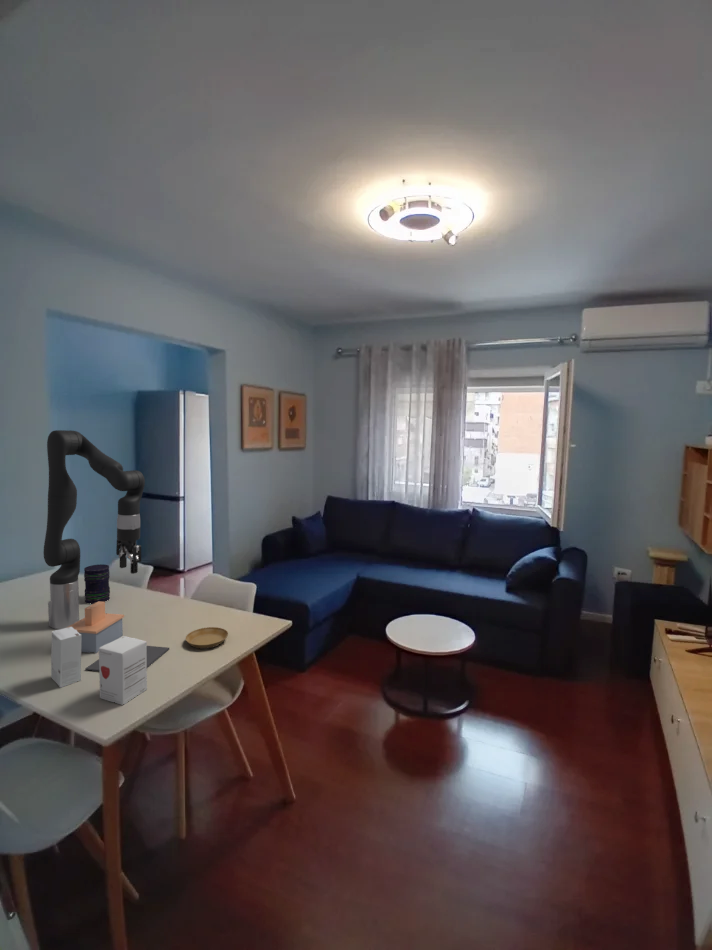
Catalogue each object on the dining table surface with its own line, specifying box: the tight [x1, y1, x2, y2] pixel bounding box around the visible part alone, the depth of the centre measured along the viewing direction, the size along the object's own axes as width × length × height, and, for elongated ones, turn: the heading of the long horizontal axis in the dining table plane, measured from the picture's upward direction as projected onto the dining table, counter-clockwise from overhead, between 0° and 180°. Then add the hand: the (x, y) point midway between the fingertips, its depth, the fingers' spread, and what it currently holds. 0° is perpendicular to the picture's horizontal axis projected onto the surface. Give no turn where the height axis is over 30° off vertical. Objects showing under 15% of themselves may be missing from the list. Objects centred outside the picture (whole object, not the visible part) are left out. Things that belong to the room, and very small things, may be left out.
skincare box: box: [50, 627, 82, 688], centre depth 139 cm, size 8×6×15 cm
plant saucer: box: [184, 626, 229, 650], centre depth 167 cm, size 15×15×3 cm
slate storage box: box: [78, 618, 124, 654], centre depth 164 cm, size 14×11×7 cm
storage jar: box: [83, 564, 111, 605], centre depth 204 cm, size 10×10×15 cm
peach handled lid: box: [66, 601, 125, 634], centre depth 163 cm, size 15×12×8 cm
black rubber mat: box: [85, 645, 170, 672], centre depth 152 cm, size 18×18×1 cm
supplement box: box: [98, 635, 148, 706], centre depth 132 cm, size 9×9×15 cm
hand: (128, 570), depth 166 cm, fingers open, 8 cm apart
